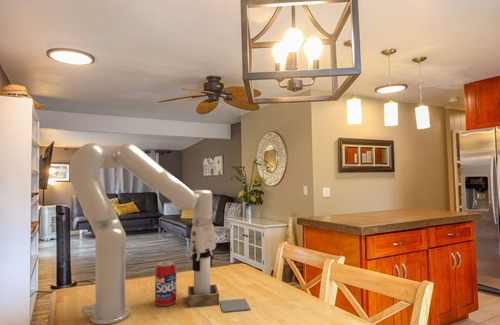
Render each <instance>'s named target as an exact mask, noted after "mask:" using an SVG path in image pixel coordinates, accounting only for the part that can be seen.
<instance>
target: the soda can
mask: <svg viewBox="0 0 500 325" xmlns="http://www.w3.org/2000/svg"><path fill="white" fill-rule="evenodd" d="M176 302H177V266H176V265H175V262H174V261H170V260H167V261H166V260H165V261H161V262H157V263H156V267H155V268H154V303H155V305H157V306H160V307H169V306H171V305H173V304H175V303H176Z"/></svg>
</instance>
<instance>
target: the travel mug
mask: <svg viewBox="0 0 500 325" xmlns="http://www.w3.org/2000/svg"><path fill="white" fill-rule="evenodd" d="M205 251H207V252H205V253H200V257H199V260H200V271H193V286H194V295H203V294H210V285H211V267H210V251H209V248H208V249H205ZM195 252H197V251H196V250H195ZM196 256H197V254H196Z"/></svg>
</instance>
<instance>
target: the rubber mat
mask: <svg viewBox="0 0 500 325" xmlns="http://www.w3.org/2000/svg"><path fill="white" fill-rule="evenodd" d="M219 305H220V309H221V312H222V313H223V314H225V313H235V312H238V313H239V312H245V311H247V312H248V311H251V306H250V305H249V303H248V301H247V300H246V298H238V299H237V298H236V299H227V300H226V299H223V300H219Z"/></svg>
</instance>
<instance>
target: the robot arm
mask: <svg viewBox="0 0 500 325" xmlns="http://www.w3.org/2000/svg"><path fill="white" fill-rule="evenodd" d="M118 168H124V169H126V170H127V171H128V172H129V173H130V174H132V175H133V176H134V177H136V179H138V180H139V181H141V182H142V183H143V184H144V185H145V186H147V187H149V188H150V189H153V190H154V191H156V192H158V193H160V194H161V195H163V196H164V197H166V198H167V200H169V201H170V202H171V203H172V205H173V206H174V208H176V209H179V210H181V211H185V212H188V211H192V221H191V223H192V226H191V232H190V239H189V240H190V244H189V246H190V247H189V248H188V250H187V255H188V256H189V258H190V259H191V261H192V271H193V272H194V271H200V260H199V257H200V253H205V252H207V251H205V249H208V248H209V251H210V268H211V267H213V256H214V253H215V249H216V247H217V243H216V232H215V227H214V224H213V192H212V191H211V190H209V189H197V190H196V189H195V190H192V189H191V188H190V187H188V186H186V184H184V183H183V182H182V181H181V180H179V179H178V178H176V177H175V176H174V175H173V174H172V173H170V172H169V171H167V170H166V169H165V168H164V167H162V166H161V165H160V164H159V163H158V162H156V161H155V160H154V159H152V157H150V156H149V155H148V154H146V153H145V152H144V151H143V150H142V149H140V148H139V147H138V146H136V145H135V144H133V143H130V142H126V143H122V144H121V145H120V144H119V145H101V144H98V143H94V142H89V143H86V144H83V145H82V146H81V147H80V148H78V150H77V151H76V152H75V153H74V154H73V156H72V157H71V160H70V162H69V167H68V175H69V180H70V183H71V186H72V188H73V190H74V193H75V196H76V198H77V200H78V203H79V204H80V208H82V213H83V215H84V217H85V218H86V219H87V222H88V223H89V225H90V227H91V229H92V232H93V234H94V236H95V246H94V247H95V286H94V288H95V293H94V294H95V297H94V298H95V299H94V300H95V303H93V304H92V305H82V307H81V313H83V315H87V314H91V315H90V316H89V320H90V321H89V322H91V323H92V324H96V325H108V324H109V325H110V324H115V323H118V322H122V321H124V320H125V319H127V318H128V317H129V316H130V314H131V309H130V308H129V307H127V306H126V256H127V255H126V252H127V234H126V232H125V230H124V228H123V226H122V223H121V221H120V219H119V216H118V214H117V212H116V209H115V207H114V205H113V203H112V201H111V199H110V198H109V197H108V195H107V193H106V191H105V189H104V186H103V184H102V182H101V179H100V177H99V173H98V172H99V169H118ZM195 250H196V251H197V252H195ZM196 254H197V256H196Z"/></svg>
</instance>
